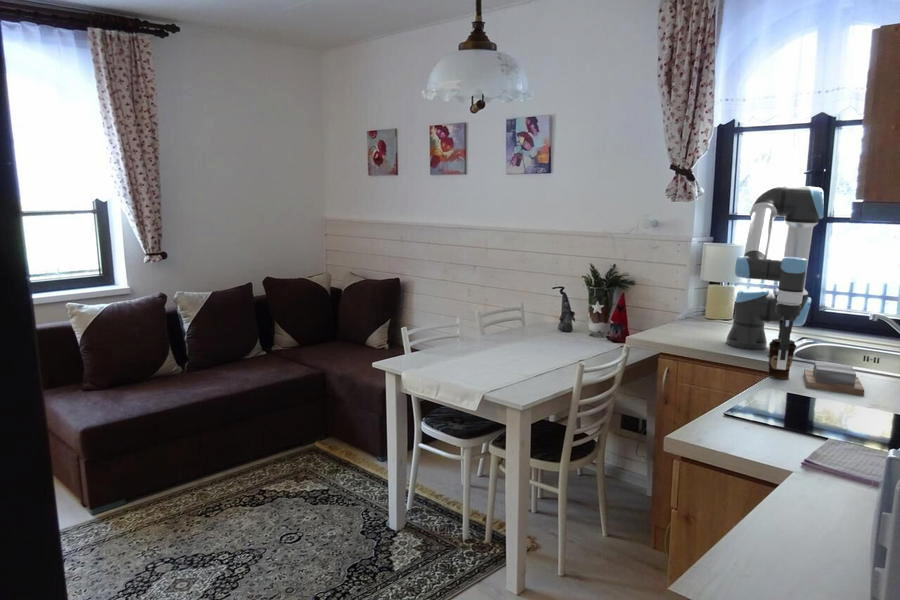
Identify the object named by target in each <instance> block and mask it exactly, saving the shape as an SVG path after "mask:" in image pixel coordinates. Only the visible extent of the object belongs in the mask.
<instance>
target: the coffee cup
mask: <svg viewBox="0 0 900 600" xmlns="http://www.w3.org/2000/svg"><path fill="white" fill-rule="evenodd" d="M780 341H781V339H778V338H774V339H773V338H772V340H771V341H770V342H769V343H768V346H769V347H768V349H769V352H768V377H770V378H773V379H779V380H788V379H790V377H789V376H790V369H791V366H792V363H793V358H794V353H795V350H796V349H797V345H796V344H795V340H792V339H790V341H789V350H788V356H787V363H786V370H783V369H777V360H778V353H779V350H777V347H780Z"/></svg>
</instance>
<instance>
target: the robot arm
mask: <svg viewBox="0 0 900 600" xmlns="http://www.w3.org/2000/svg"><path fill="white" fill-rule="evenodd" d="M824 206H825V205H824V190H823V189H822V188H821V187H816V186H801V185H800V186H797V185H796V186H795V185H794V186H793V185H789V186H788V185H775V186H772V187H770V188H767V189H766V190H763V191H762V192H760V193H759V194H758V195H757V197H756V198H755V199H754V200H753V202H752V203H751V206H750V209H749V216H750V218H751V219H750V222H749V223H750V225H749V228H748V233H747V239H746V244H745V248H744V254H743V255H742V256H738V257H737V258H736V261H735V266H734V275H735V277H737V278H742V279H747V280H748V279H751V280H763V281H774V282H778V287H777V288H775V290H774V293H770V291H769V289H767V288H744V289H740V290H739V291H738V292H737V293H736V298H735V301H734V302H735V304H734V314H733V321H732V325H731V328H730V330H729V332H728V334H727V336H726V340H725V343H726V344H727V345H729V346H732V347H735V348H740V349H746V350H765V349H766V348H767V345H768V342H767V335H766V331H765V324H766V323H770V324H779V326H778V329H779V332H778V335H777V337H778V338H777V339H781V341H780V347H777V350H779V353H778V360H777V369H783V370H786V363H787V356H788V350H789V341H790V340H791V333H792V329H793V327H794V326H797V327H801V326H803V325H804V324H805V323H806V322H807V321H806V320H807V318H808V314H809V312H810V311H809V310H810V309H811V308H810V307H811V303H812V298H811V297H809V292H808V291H807V290H806V288H805V287H806V280H807V272H808V264H809V257H810V252H811V245H812V239H813V238H812V237H813V230H814V227H815V226H817V225H818V224H819V220H822V219H823V218H824V208H825V207H824ZM777 217H784V221H783V222H784V223H785V224H786V225H787V231H786V239H785V246H784V253H783V257H782V259H776V258H767V257H768V252H769V247H770V240H771V234H772V229H773V224H774V221H775V219H776V218H777Z"/></svg>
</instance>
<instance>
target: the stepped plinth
mask: <svg viewBox="0 0 900 600" xmlns="http://www.w3.org/2000/svg"><path fill="white" fill-rule="evenodd" d="M854 369H855V368H854V367H853V366H852V365H845V364H838V363H831V362H823V361H816V360H815V361H814V364H813V369H812V370H811V369H804V370H803V378H805V379H804V382H805V387H809V388H808V389H813V388H815V389H814V390H820V389H822V390H821V391H826V390H829V391H828V392H833V391H834V393H840V394H841V393H842V394H848V395H853V396H854V395H855V396H861V397H862V396H863V397H864V396H865V388H864V386H863V385H862V382H861V381H860V379H859V377H858V376H857V373H856V372H855V370H854Z"/></svg>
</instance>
